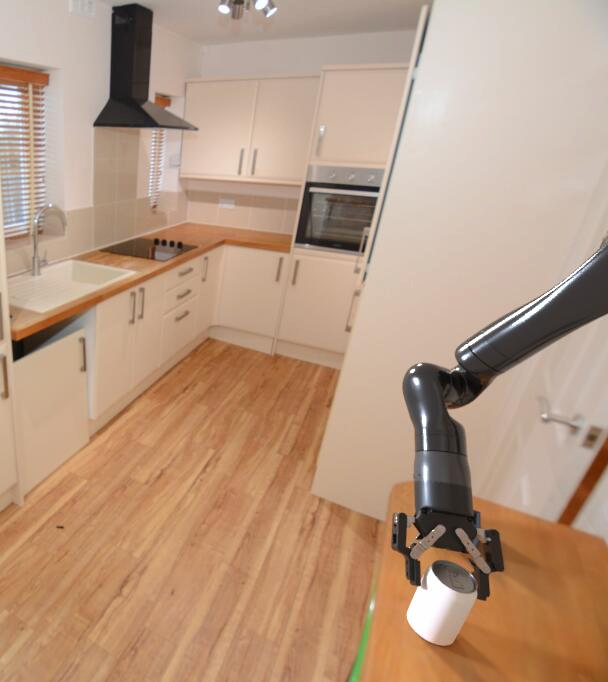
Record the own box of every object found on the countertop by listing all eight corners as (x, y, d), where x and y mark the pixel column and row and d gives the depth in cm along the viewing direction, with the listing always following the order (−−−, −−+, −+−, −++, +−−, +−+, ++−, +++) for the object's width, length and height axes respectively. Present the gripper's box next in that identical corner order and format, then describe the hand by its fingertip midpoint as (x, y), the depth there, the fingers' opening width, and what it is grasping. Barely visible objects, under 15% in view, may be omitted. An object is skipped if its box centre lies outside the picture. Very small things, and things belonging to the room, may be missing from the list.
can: (444, 613, 75) (469, 562, 70) (461, 652, 70) (490, 600, 64) (400, 603, 77) (421, 553, 72) (413, 641, 71) (437, 589, 66)
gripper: (402, 473, 73) (405, 585, 68) (508, 490, 69) (519, 609, 64) (384, 476, 80) (385, 578, 74) (479, 492, 76) (487, 599, 71)
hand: (447, 592), depth 69 cm, fingers open, 8 cm apart
